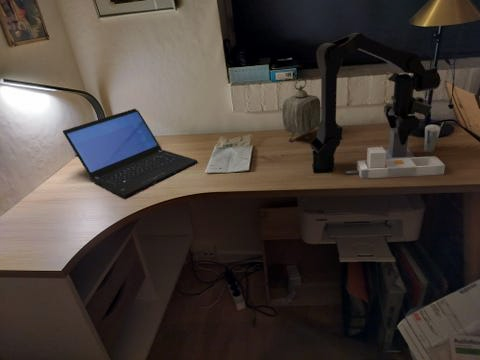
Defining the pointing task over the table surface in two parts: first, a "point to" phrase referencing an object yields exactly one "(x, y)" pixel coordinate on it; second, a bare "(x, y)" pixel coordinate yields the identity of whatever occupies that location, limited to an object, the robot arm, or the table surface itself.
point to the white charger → (376, 157)
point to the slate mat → (408, 155)
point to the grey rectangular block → (396, 145)
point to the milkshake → (431, 137)
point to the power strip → (401, 168)
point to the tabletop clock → (301, 112)
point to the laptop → (123, 153)
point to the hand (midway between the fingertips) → (398, 139)
